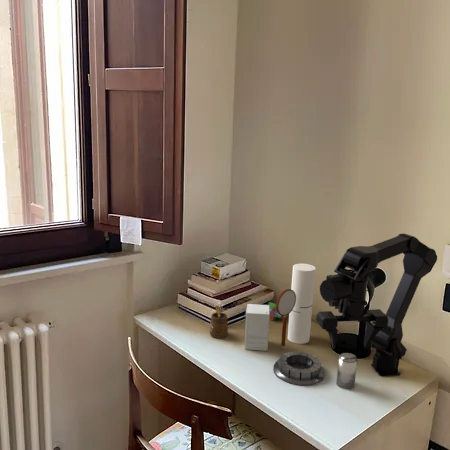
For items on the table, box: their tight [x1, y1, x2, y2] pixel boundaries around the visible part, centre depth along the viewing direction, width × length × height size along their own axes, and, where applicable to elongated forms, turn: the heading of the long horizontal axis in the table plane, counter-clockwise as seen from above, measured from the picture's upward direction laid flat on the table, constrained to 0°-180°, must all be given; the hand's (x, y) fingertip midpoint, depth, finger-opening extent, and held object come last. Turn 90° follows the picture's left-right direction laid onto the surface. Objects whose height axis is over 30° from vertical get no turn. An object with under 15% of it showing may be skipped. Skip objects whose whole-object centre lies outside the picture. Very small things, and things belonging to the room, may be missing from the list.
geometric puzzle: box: [266, 301, 283, 321], centre depth 184 cm, size 7×7×8 cm
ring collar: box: [272, 351, 326, 387], centre depth 150 cm, size 15×15×3 cm
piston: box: [335, 352, 358, 390], centre depth 143 cm, size 5×5×9 cm
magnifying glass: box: [275, 288, 296, 349], centre depth 161 cm, size 9×2×20 cm, turn 132°
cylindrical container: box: [287, 263, 317, 345], centre depth 167 cm, size 7×7×25 cm
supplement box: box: [244, 303, 271, 352], centre depth 163 cm, size 7×7×13 cm
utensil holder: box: [209, 301, 229, 339], centre depth 169 cm, size 6×6×12 cm
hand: (349, 347), depth 142 cm, fingers open, 9 cm apart
